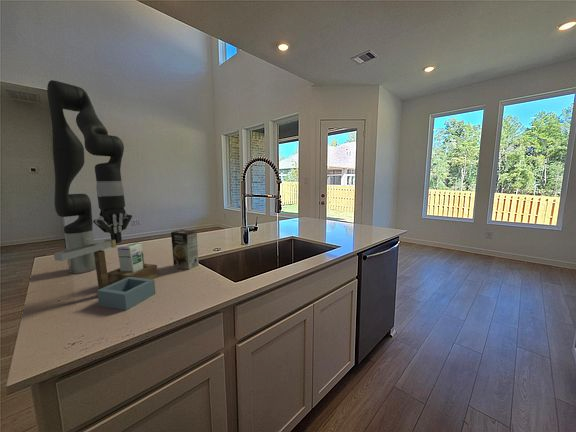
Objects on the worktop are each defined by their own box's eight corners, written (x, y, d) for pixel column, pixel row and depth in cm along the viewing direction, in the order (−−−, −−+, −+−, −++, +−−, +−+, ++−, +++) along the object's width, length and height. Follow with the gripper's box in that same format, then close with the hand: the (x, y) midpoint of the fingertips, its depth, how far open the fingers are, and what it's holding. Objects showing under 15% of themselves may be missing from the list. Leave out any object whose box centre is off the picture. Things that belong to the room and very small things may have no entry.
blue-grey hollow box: (99, 305, 75) (97, 290, 75) (130, 290, 86) (128, 276, 85) (126, 310, 73) (124, 294, 72) (155, 293, 83) (154, 279, 82)
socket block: (89, 294, 83) (83, 250, 81) (135, 274, 101) (131, 238, 98) (114, 298, 80) (109, 253, 78) (157, 276, 98) (154, 239, 95)
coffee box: (173, 267, 108) (170, 232, 105) (184, 262, 114) (181, 229, 111) (188, 270, 104) (186, 233, 102) (199, 265, 110) (197, 230, 108)
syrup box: (134, 284, 90) (130, 247, 88) (121, 283, 91) (116, 246, 89) (146, 278, 96) (142, 243, 94) (133, 277, 97) (129, 242, 95)
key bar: (54, 261, 70) (52, 252, 70) (108, 246, 85) (107, 239, 85) (63, 262, 69) (61, 253, 69) (116, 246, 84) (115, 239, 84)
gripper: (120, 193, 91) (125, 238, 94) (82, 195, 78) (89, 247, 81) (136, 193, 89) (140, 239, 92) (99, 195, 76) (106, 248, 79)
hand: (116, 242), depth 86 cm, fingers closed
